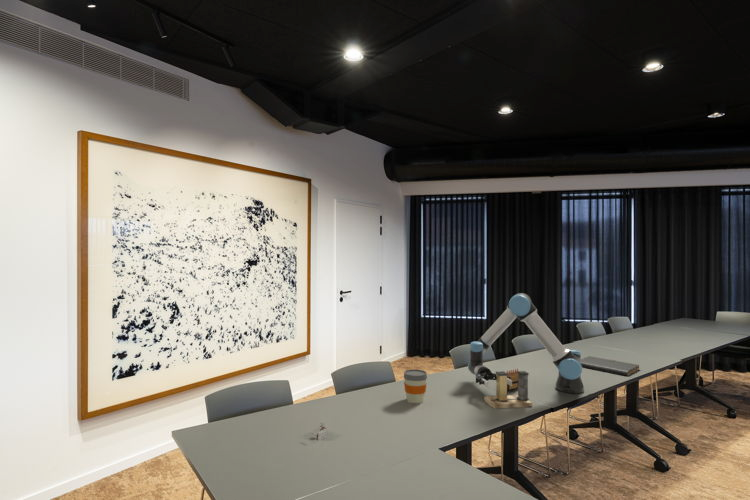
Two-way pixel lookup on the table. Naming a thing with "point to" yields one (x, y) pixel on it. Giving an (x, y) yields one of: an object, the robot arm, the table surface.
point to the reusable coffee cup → (415, 385)
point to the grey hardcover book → (609, 365)
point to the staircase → (320, 432)
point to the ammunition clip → (513, 380)
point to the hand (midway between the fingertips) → (499, 384)
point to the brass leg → (501, 386)
